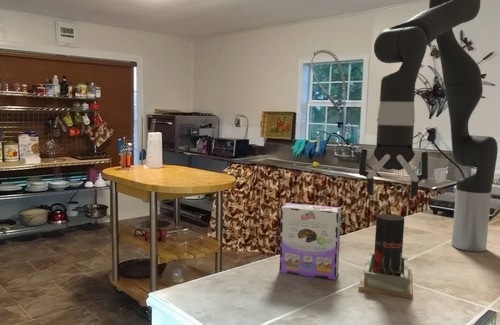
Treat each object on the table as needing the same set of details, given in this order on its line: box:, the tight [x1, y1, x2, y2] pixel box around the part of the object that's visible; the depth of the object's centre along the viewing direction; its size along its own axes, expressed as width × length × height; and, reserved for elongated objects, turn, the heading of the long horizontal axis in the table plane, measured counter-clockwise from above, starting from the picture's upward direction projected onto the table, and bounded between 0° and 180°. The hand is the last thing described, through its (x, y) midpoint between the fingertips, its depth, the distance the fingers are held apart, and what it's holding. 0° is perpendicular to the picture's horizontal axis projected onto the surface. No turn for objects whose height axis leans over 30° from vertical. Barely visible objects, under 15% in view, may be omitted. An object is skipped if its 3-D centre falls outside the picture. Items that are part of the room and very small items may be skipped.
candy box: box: [278, 202, 342, 280], centre depth 104 cm, size 14×6×16 cm, turn 71°
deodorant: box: [373, 213, 405, 277], centre depth 96 cm, size 6×6×15 cm
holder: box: [358, 252, 413, 300], centre depth 100 cm, size 16×11×4 cm
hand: (391, 196), depth 95 cm, fingers open, 8 cm apart
